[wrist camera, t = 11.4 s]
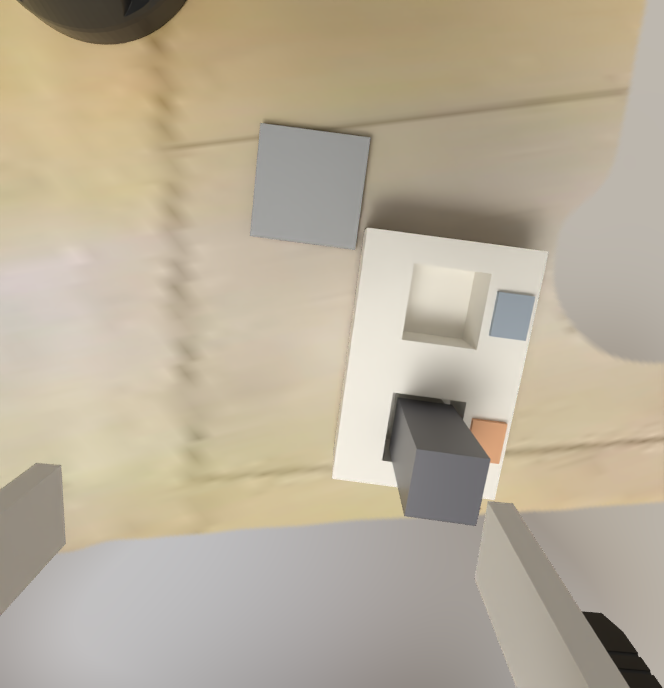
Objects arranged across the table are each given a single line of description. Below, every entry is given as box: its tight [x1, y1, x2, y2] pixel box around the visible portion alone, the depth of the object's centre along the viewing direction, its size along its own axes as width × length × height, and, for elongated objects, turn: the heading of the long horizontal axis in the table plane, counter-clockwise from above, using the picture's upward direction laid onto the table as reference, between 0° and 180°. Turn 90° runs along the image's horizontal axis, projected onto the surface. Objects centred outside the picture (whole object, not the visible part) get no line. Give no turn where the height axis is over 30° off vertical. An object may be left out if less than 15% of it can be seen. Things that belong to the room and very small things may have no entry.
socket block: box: [332, 228, 549, 500], centre depth 34 cm, size 18×12×5 cm, turn 173°
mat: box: [250, 123, 370, 250], centre depth 35 cm, size 8×8×1 cm
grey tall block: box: [389, 393, 491, 526], centre depth 31 cm, size 4×4×12 cm
